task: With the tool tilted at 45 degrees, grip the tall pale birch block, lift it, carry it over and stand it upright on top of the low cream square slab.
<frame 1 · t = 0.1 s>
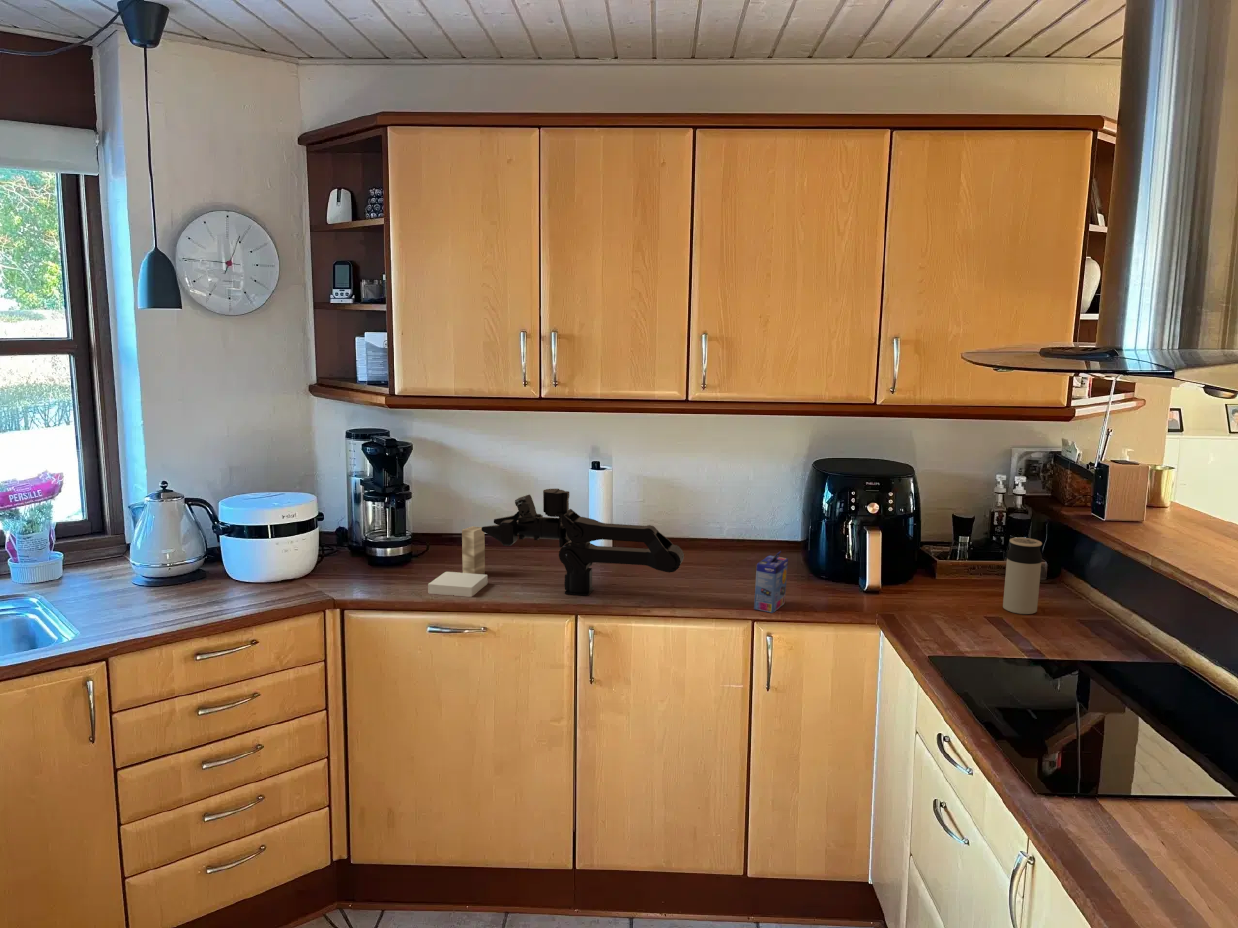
hand: (487, 524, 246), 17 cm above the worktop, tool horizontal, fingers open, 9 cm apart
travel mug: (1019, 610, 233), on the worktop
ink cartridge box: (770, 607, 233), on the worktop
birch block: (473, 573, 258), on the worktop
cream square slab: (458, 590, 245), on the worktop
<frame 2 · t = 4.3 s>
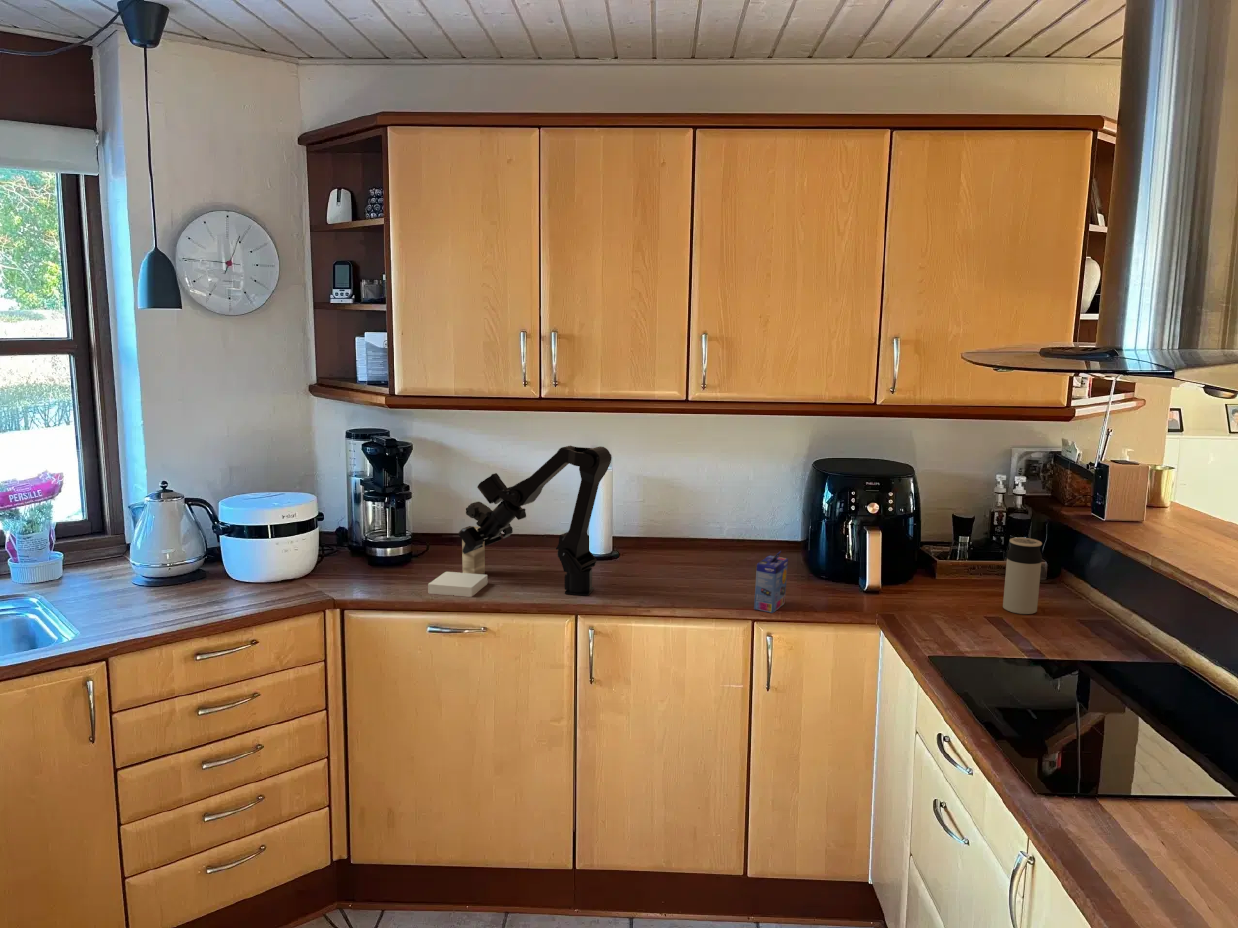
hand: (469, 550, 258), 7 cm above the worktop, tool tilted 45°, fingers closed on birch block, 5 cm apart
birch block: (473, 573, 259), on the worktop, touching gripper
everything else where it was.
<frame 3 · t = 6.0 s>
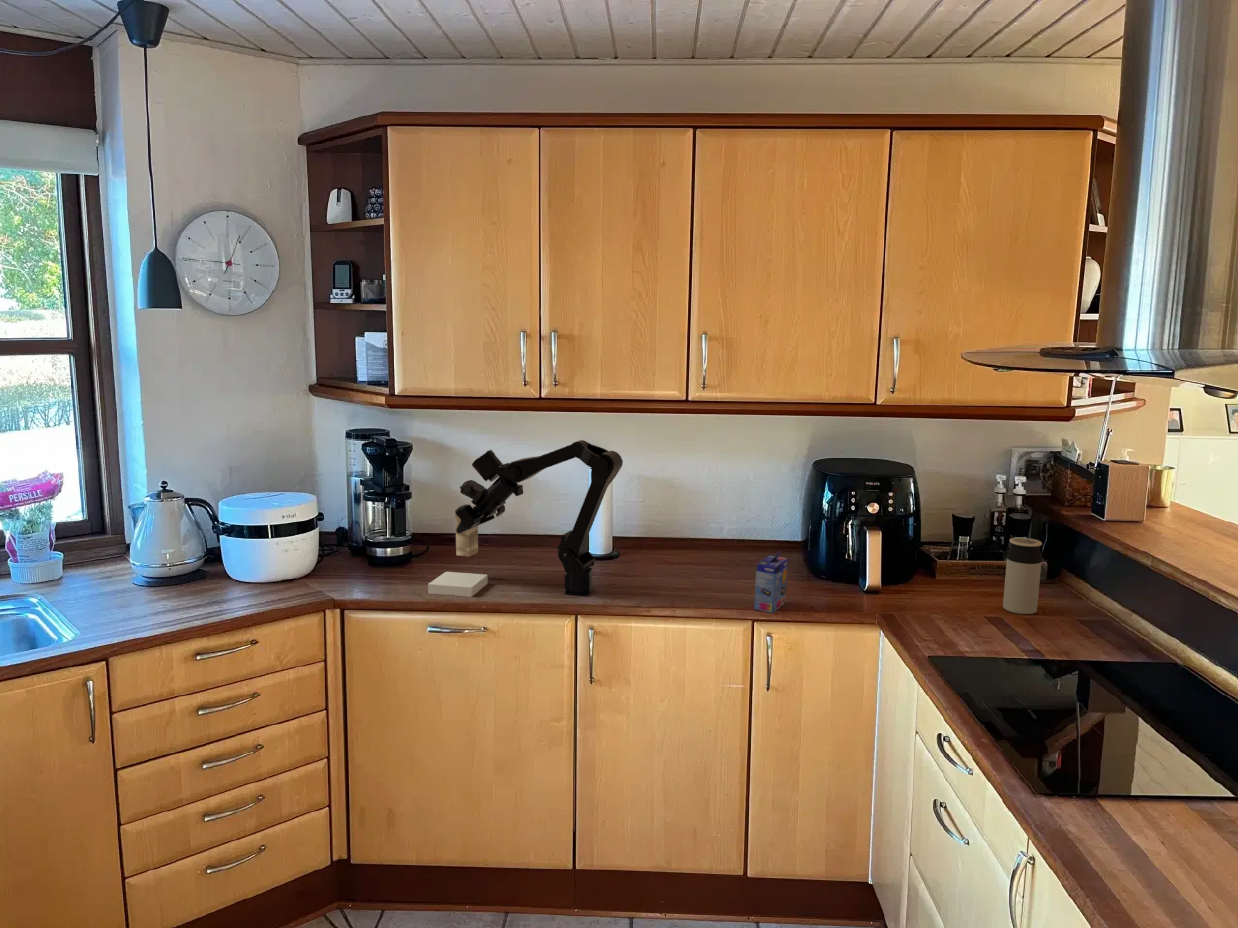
hand: (462, 530, 253), 13 cm above the worktop, tool tilted 45°, fingers closed on birch block, 5 cm apart
birch block: (467, 553, 253), point 7 cm above the worktop, touching gripper
everything else where it was.
when the fingers open (11 cm above the worktop, at t = 7.8 s): birch block drops 2 cm, point 3 cm above the worktop.
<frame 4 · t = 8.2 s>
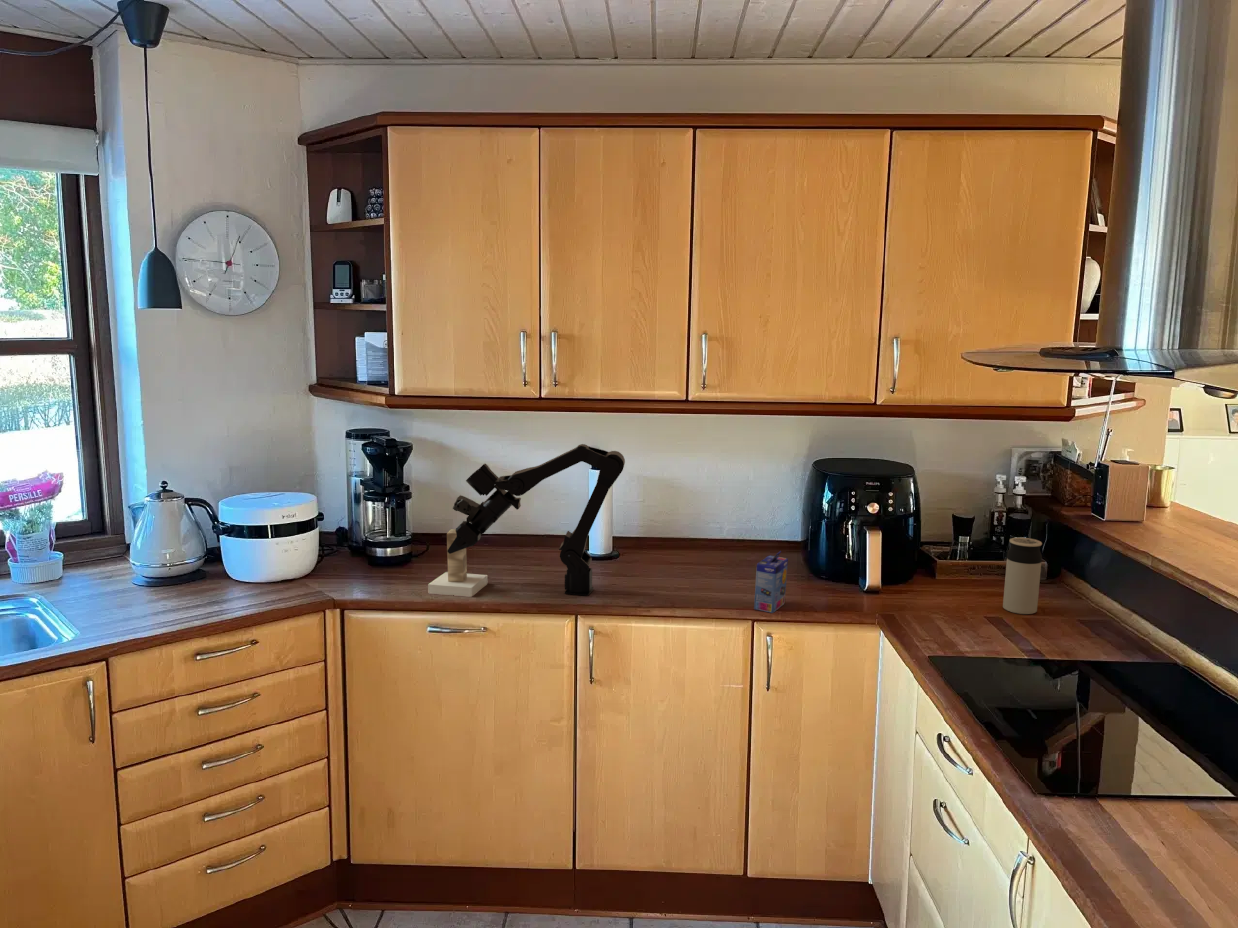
hand: (452, 547, 243), 11 cm above the worktop, tool tilted 45°, fingers open, 9 cm apart
birch block: (457, 579, 244), point 3 cm above the worktop
everything else where it was.
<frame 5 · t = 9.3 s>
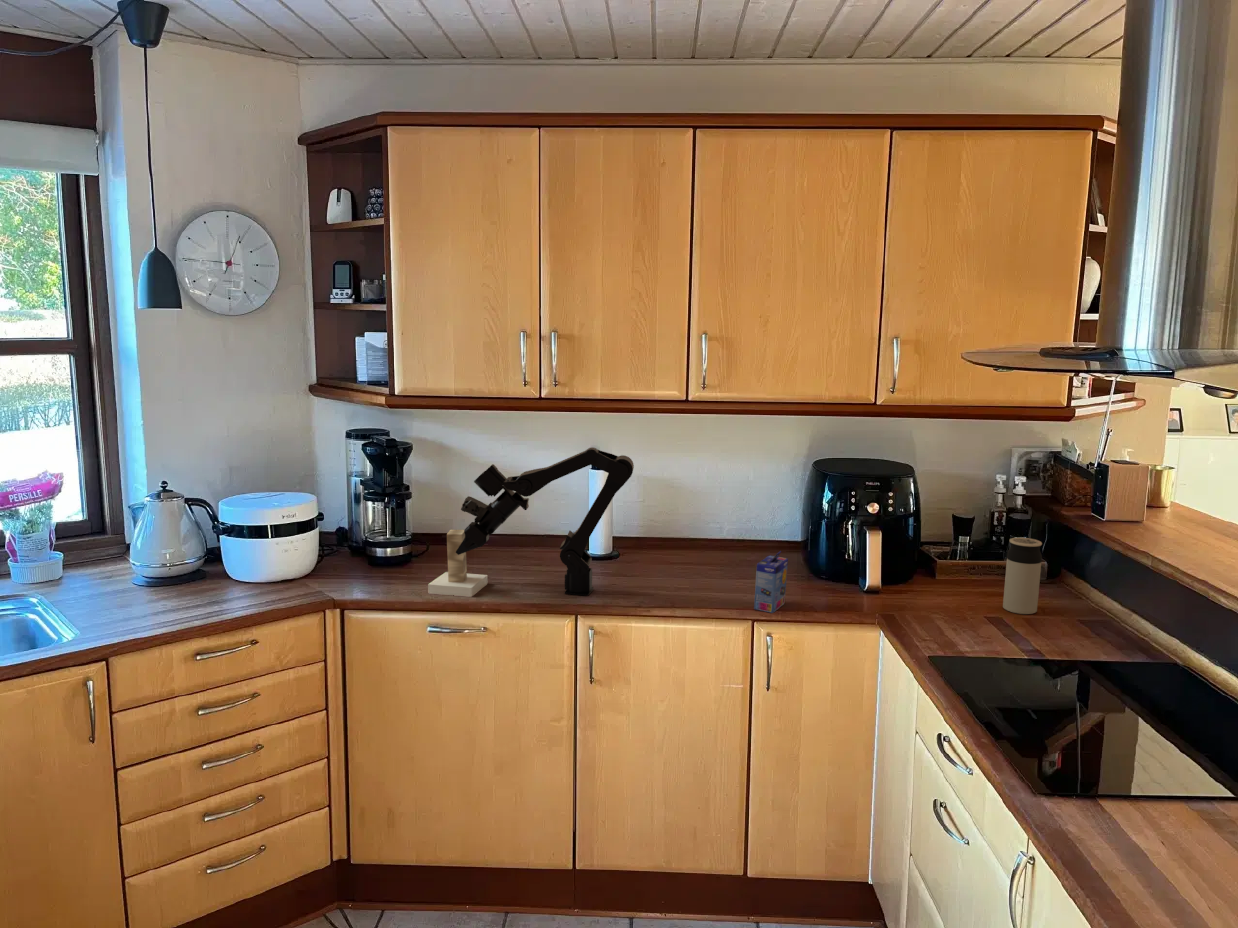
hand: (460, 548, 243), 11 cm above the worktop, tool tilted 45°, fingers open, 9 cm apart
birch block: (457, 579, 244), point 2 cm above the worktop, touching cream square slab
cream square slab: (458, 590, 245), on the worktop, touching birch block
everything else where it was.
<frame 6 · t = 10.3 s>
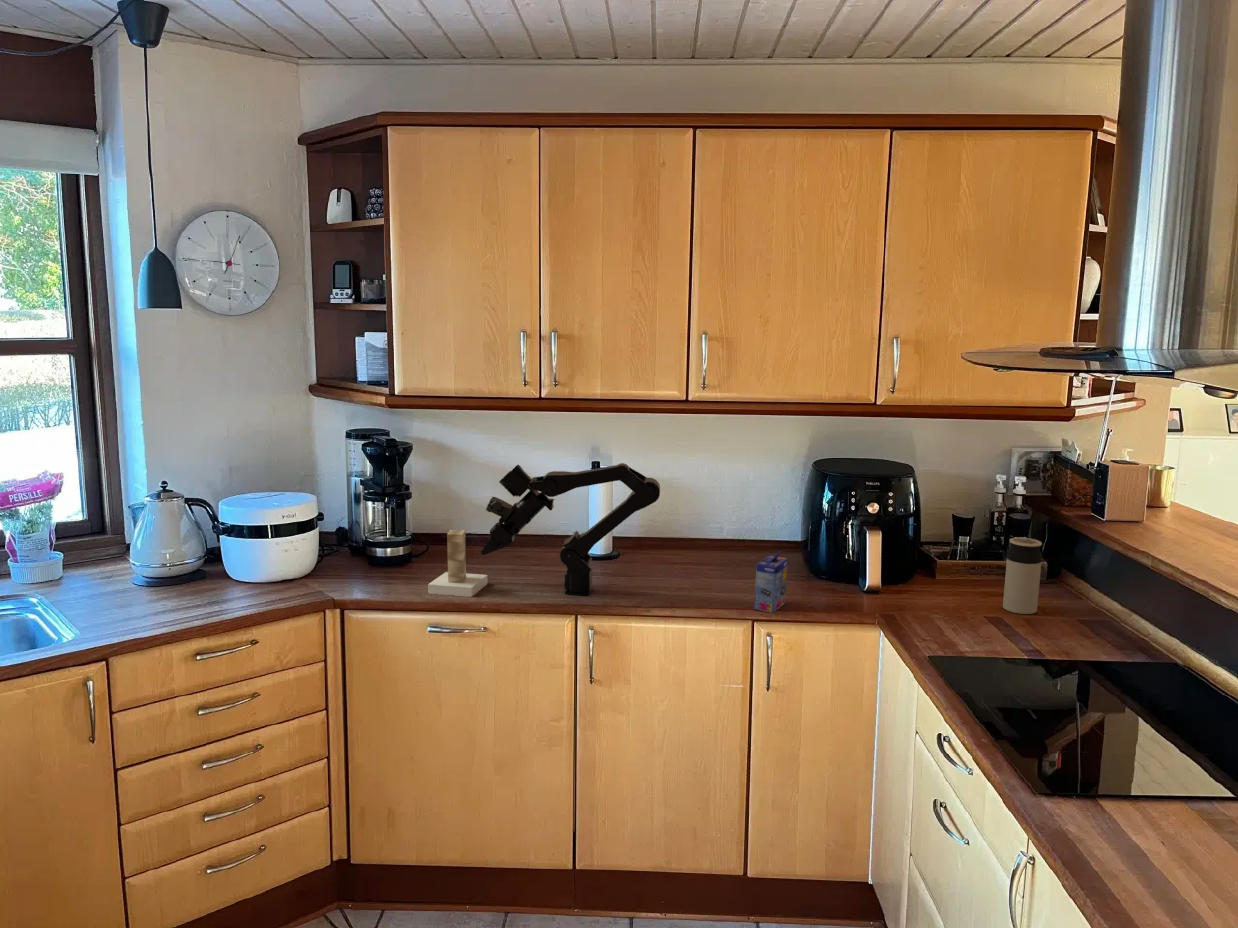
hand: (485, 549, 243), 11 cm above the worktop, tool tilted 45°, fingers open, 9 cm apart
nothing on the worktop moved.
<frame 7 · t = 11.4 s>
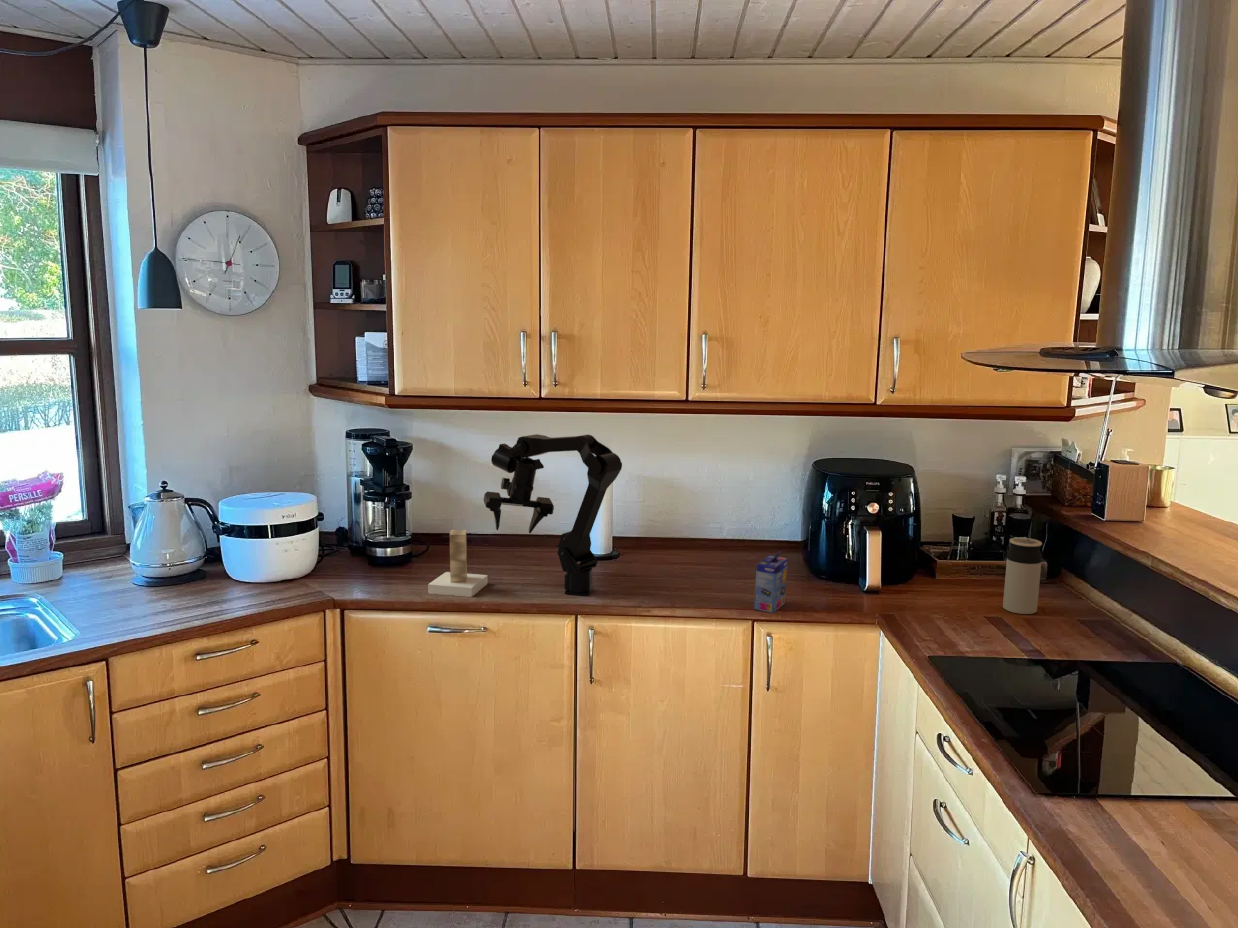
hand: (513, 531, 254), 13 cm above the worktop, tool pointing down, fingers open, 9 cm apart
nothing on the worktop moved.
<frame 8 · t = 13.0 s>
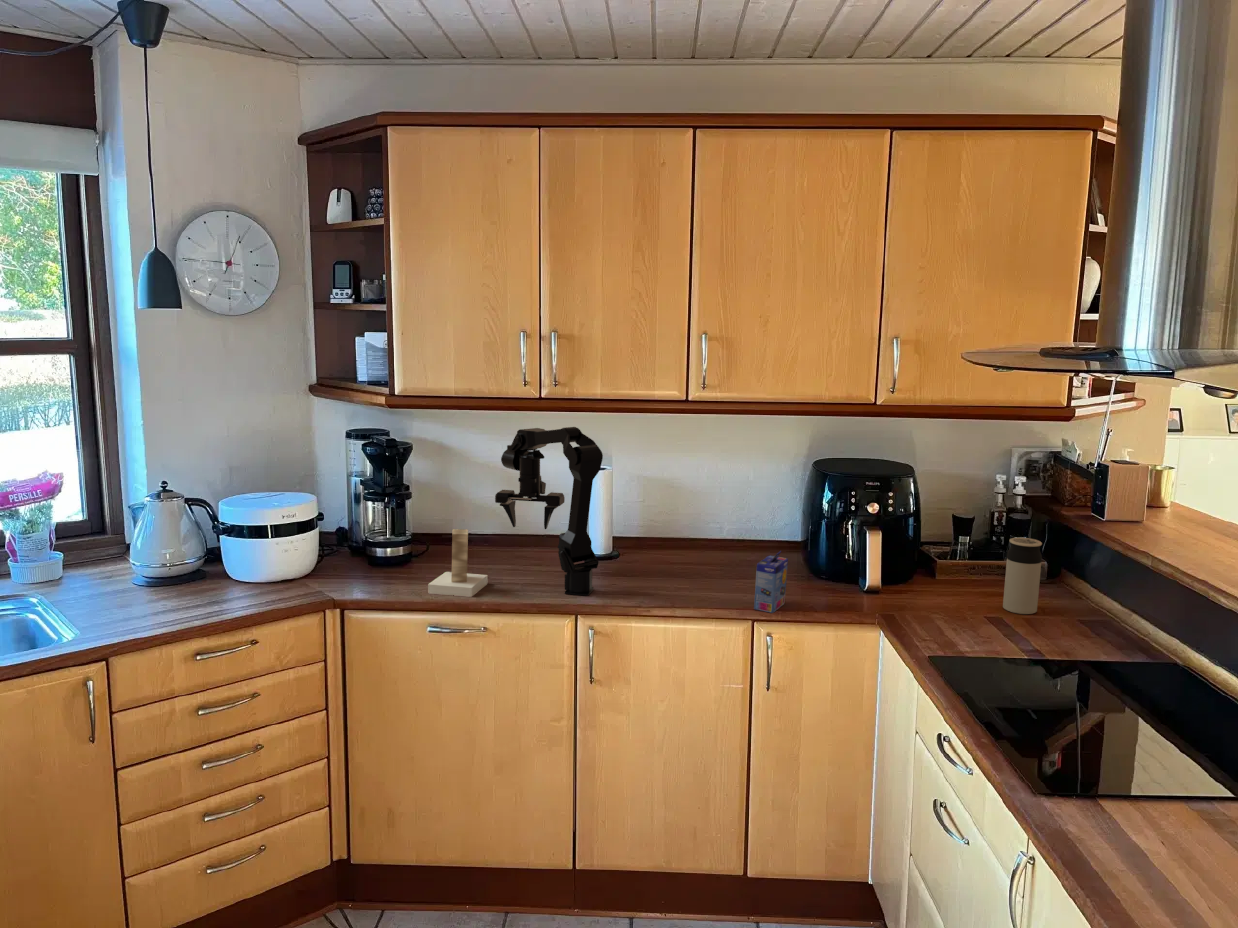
hand: (529, 527, 258), 13 cm above the worktop, tool pointing down, fingers open, 9 cm apart
birch block: (459, 578, 245), point 3 cm above the worktop
cream square slab: (458, 590, 245), on the worktop
everything else where it was.
at the end: birch block inside the target area on the cream square slab (0.2 cm from its centre), point 3.1 cm above the cream square slab's base; birch block tilted 2°; the gripper is holding nothing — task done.
